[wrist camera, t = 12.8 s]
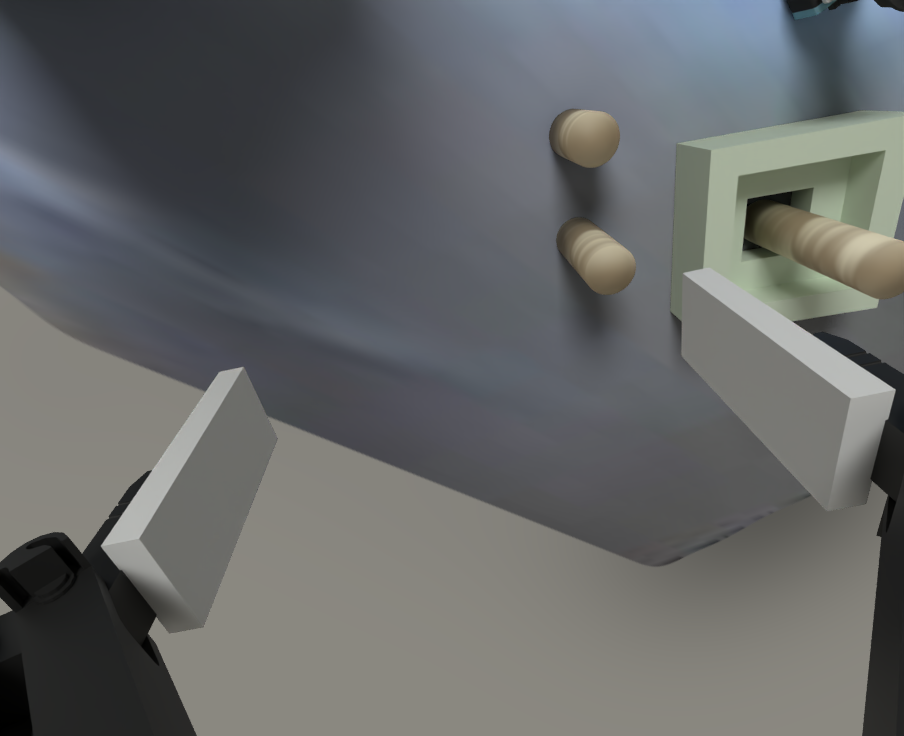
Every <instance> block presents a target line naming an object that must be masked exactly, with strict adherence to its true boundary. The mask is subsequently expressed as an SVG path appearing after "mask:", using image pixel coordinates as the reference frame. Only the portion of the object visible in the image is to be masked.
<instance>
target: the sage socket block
mask: <svg viewBox="0 0 904 736" xmlns="http://www.w3.org/2000/svg"><path fill="white" fill-rule="evenodd" d="M790 191H792V196H791V203H790V206H791V207H794V208H797V209H801V210H804V211H807V212H810V213H814V214H817V215H820V216H823V217H826V218H830V219H833V220H836V221H839V222H843V223H846V224H849V225H852V226H855V227H859V228H862V229H865V230H868V231H872V232H875V233H878V234H881V235H884V236H888V237H891V238H894V234H895V230H896V226H897V222H898V218H899V214H900V209H901V205H902V201H903V197H904V112H895V111H868V110H861V111H856V112H850V113H844V114H839V115H833V116H828V117H822V118H816V119H811V120H805V121H800V122H794V123H788V124H783V125H777V126H772V127H766V128H760V129H755V130H749V131H744V132H738V133H732V134H727V135H721V136H716V137H710V138H704V139H699V140H693V141H687V142H682V143H677V149H676V176H675V202H674V228H673V254H672V280H671V307H670V311H671V312H672V313H673V314H674V315H675V316H676V317H677V318H678V319H680V320H681V321H682V278H683V273H685V272H690V271H695V270H699V269H704V268H709V267H710V268H711V269H713V270H714V271H716V272H717V273H719V274H720V275H722V276H723V277H725V278H726V279H728V280H729V281H731V282H733V283H734V284H736V285H737V286H739V287H740V288H742V289H743V290H745V291H746V292H748V293H749V294H751V295H752V296H754V297H755V298H757V299H758V300H760V301H761V302H763V303H764V304H766V305H768V306H769V307H771V308H772V309H774V310H775V311H777V312H778V313H780V314H781V315H783V316H784V317H786V318H787V319H789V320H790V321H798V320H804V319H810V318H816V317H822V316H828V315H834V314H841V313H847V312H853V311H859V310H865V309H871V308H877V305H878V301H879V299H876V298H873V297H870V296H868V295H866V294H864V293H862V292H860V291H857V290H855V289H853V288H851V287H849V286H846V285H844V284H842V283H840V282H838V281H836V280H833V279H831V278H829V277H827V276H825V275H822V274H820V273H818V272H816V271H814V270H812V269H809V268H807V267H805V266H803V265H801V264H798V263H796V262H794V261H792V260H790V259H788V258H785V257H783V256H781V255H779V254H777V253H774V252H772V251H770V250H768V249H766V248H764V247H762V248H756V249H750V250H744V251H742V247H743V237H744V227H745V218H746V208H747V199H749V198H755V197H761V196H767V195H773V194H778V193H784V192H790Z"/></svg>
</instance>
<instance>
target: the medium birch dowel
mask: <svg viewBox="0 0 904 736" xmlns="http://www.w3.org/2000/svg"><path fill="white" fill-rule="evenodd" d="M556 242H557V247H558V249H559V251H560V252H561V253H562V255H563V256H564V257H565V258H566V259H567V260H568V262H569V263H570V264H571V265H572V266H573V268H574V269H575V270H576V271H577V272H578V274H579V275H580V276H581V277H582V278H583V280H584V281H585V282H586V283H587V284H588V285H589V287H590V288H591V289H592V290H593V291H595V292H597V293H599V294H603V295H611V294H615V293H618V292H620V291H621V290H623V289H624V288H626V287H627V286H628V285H629V283H630V282H631V281H632V279H633V277H634V274H635V270H636V263H635V259H634V257H633V255H632V254H631V253H630V252H629V251H628V250H627V249H626V248H624V247H623V246H622V245H621V244H619V243H618V242H617V241H615V240H614V239H613V238H612V237H610V236H609V235H608V234H606V233H605V232H604V231H603V230H601V229H600V228H599V227H597V226H596V225H595V224H594V223H592V222H591V221H590V220H588V219H586V218H582V217H577V218H573V219H570V220H568V221H567V222H565V223H564V224H563V225H562V226H561V228H560V229H559V231H558V234H557V238H556Z"/></svg>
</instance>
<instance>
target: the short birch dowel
mask: <svg viewBox="0 0 904 736" xmlns="http://www.w3.org/2000/svg"><path fill="white" fill-rule="evenodd" d="M549 140H550V144H551V147H552V149H553V150H554V151H555V152H556V153H557V154H558V155H559V156H561V157H564V158H566V159H568V160H570V161H572V162H574V163H576V164H578V165H581V166H583V167H587V168H594V167H598V166H601V165H603V164H605V163H606V162H607V161H609V160H610V159H611V157H612V156H613V155H614V154H615V152H616V150H617V148H618V145H619V140H620V132H619V127H618V125H617V123H616V121H615V120H614V118H613V117H612V116H610V115H609V114H607V113H605V112H601V111H591V110H581V109H569V110H566V111H564V112H562V113H561V114H559V115H558V116H557V117H556V118H555V120H554V121H553V123H552V125H551V128H550V132H549Z"/></svg>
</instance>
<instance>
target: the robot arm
mask: <svg viewBox="0 0 904 736" xmlns="http://www.w3.org/2000/svg"><path fill="white" fill-rule="evenodd" d="M681 356H682V357H683V358H684V359H685V360H686V362H687V363H688V364H689V365H690V366H691V367H692V368H693V369H694V370H695V371H696V372H697V373H698V374H699V375H700V376H701V378H702V379H703V380H704V381H705V382H706V383H707V384H708V385H709V386H710V387H711V388H712V389H713V390H714V391H715V392H716V394H717V395H718V396H719V397H720V398H721V399H722V400H723V401H724V402H725V403H726V404H727V405H728V406H729V407H730V408H731V410H732V411H733V412H734V413H735V414H736V415H737V416H738V417H739V418H740V419H741V420H742V421H743V422H744V423H745V424H746V426H747V427H748V428H749V429H750V430H751V431H752V432H753V433H754V434H755V435H756V436H757V437H758V438H759V439H760V440H761V442H762V443H763V444H764V445H765V446H766V447H767V448H768V449H769V450H770V451H771V452H772V453H773V454H774V455H775V456H776V458H777V459H778V460H779V461H780V462H781V463H782V464H783V465H784V466H785V467H786V468H787V469H788V470H789V471H790V472H791V474H792V475H793V476H794V477H795V478H796V479H797V480H798V481H799V482H800V483H801V484H802V485H803V486H804V487H805V488H806V490H807V491H808V492H809V493H810V494H811V495H812V496H813V497H814V498H815V499H816V500H817V501H818V502H819V503H820V504H821V506H823V508H824V509H825V510H826V511H832V510H837V509H842V508H847V507H853V506H859V505H864V504H866V502H867V498H868V495H869V491H870V487H871V483H872V481H873V482H874V483H875V484H877V485H878V486H879V487H880V488H881V489H882V490H883V491H884V492H885V493H886V494H888V497H887V501H886V504H885V507H884V511H883V515H882V518H881V521H880V525H879V528H878V532H877V536H880V537H881V547H880V558H879V568H878V578H877V589H876V599H875V610H874V620H873V631H872V640H871V652H870V661H869V672H868V683H867V692H866V703H865V714H864V723H863V734H862V736H904V374H902V373H901V372H899V371H898V370H896V369H894V368H893V367H891V366H889V365H888V364H886V363H881V360H880V359H878V358H876V357H875V356H873V355H872V354H870V353H868V354H867V353H866V351H865V350H863V349H862V348H860V347H859V346H857V345H855V344H854V343H852V342H850V341H849V340H847V339H843V338H840V337H837V336H834V335H831V334H828V333H825V332H820V333H815V334H810V333H809V332H807V331H806V330H804V329H803V328H801V327H799V326H798V325H796V324H795V323H793V322H792V321H790V320H789V319H787V318H786V317H784V316H783V315H781V314H780V313H778V312H777V311H775V310H774V309H772V308H771V307H769V306H768V305H766V304H764V303H763V302H761V301H760V300H758V299H757V298H755V297H754V296H752V295H751V294H749V293H748V292H746V291H745V290H743V289H742V288H740V287H739V286H737V285H736V284H734V283H733V282H731V281H729V280H728V279H726V278H725V277H723V276H722V275H720V274H719V273H717V272H716V271H714V270H713V269H711V268H710V267H709V268H704V269H699V270H695V271H690V272H685V273H683V278H682V345H681ZM277 439H278V438H277V436H276V434H275V432H274V430H273V428H272V426H271V423H270V421H269V420H268V417H267V415H266V413H265V411H264V409H263V406H262V404H261V402H260V400H259V398H258V396H257V394H256V392H255V390H254V387H253V385H252V383H251V381H250V379H249V377H248V375H247V373H246V370H245V368H244V367H240V368H236V369H231V370H226V371H222V372H219V373H218V375H217V376H216V378H215V379H214V381H213V382H212V384H211V385H210V386H209V388H208V389H207V391H206V392H205V394H204V396H203V397H202V398H201V400H200V401H199V403H198V404H197V406H196V407H195V409H194V410H193V411H192V413H191V414H190V416H189V417H188V419H187V420H186V422H185V423H184V425H183V426H182V428H181V429H180V431H179V432H178V434H177V435H176V437H175V438H174V439H173V441H172V442H171V444H170V445H169V447H168V448H167V450H166V451H165V453H164V454H163V456H162V457H161V459H160V460H159V461H158V463H157V464H156V466H155V467H154V469H153V470H151V471H147V472H146V473H145V474H144V475H143V476H141V477H140V478H139V479H138V480H137V481H136V482H135V483H133V484H132V485H131V486H130V487H129V489H128V490H127V491H126V493H125V494H124V496H123V497H122V498H121V500H120V501H119V503H118V504H119V505H118V506H116V507H115V508H114V510H113V511H112V512H111V514H110V515H109V519H107V520H106V521H105V522H104V524H103V525H102V527H101V528H100V529H99V531H98V532H97V534H96V535H95V537H94V538H93V539H92V541H91V542H90V544H89V545H88V546H87V548H86V549H85V550H84V552H83V554H81V552H80V551H79V550H78V548H77V547H76V546H75V545H74V544H73V542H72V541H71V540H70V539H69V537H68V536H67V535H65V534H64V533H59V532H53V533H50V534H46V535H42V536H39V537H37V538H35V539H33V540H31V541H29V542H27V543H25V544H24V545H22V546H20V547H19V548H17V549H16V550H14V551H13V552H12V553H10V554H9V555H8V556H7V557H6V558H5V559H3V560H2V561H1V562H0V598H1V599H2V600H3V601H4V602H5V603H6V604H7V605H8V606H9V607H10V608H11V609H12V610H13V611H10V612H8V613H6V614H3V615H1V616H0V736H197V735H196V733H195V731H194V728H193V726H192V724H191V722H190V720H189V717H188V715H187V713H186V710H185V708H184V706H183V704H182V702H181V699H180V697H179V695H178V692H177V690H176V688H175V686H174V683H173V681H172V679H171V677H170V674H169V672H168V670H167V668H166V665H165V663H164V661H163V659H162V656H161V654H160V652H159V650H158V647H157V645H156V643H155V642H154V641H153V640H152V638H151V637H150V636H149V635H148V632H149V630H150V628H151V626H152V624H153V622H154V620H155V618H156V617H157V618H158V620H159V621H160V622H161V623H162V625H163V626H164V627H165V628H166V630H167V631H168V632H169V633H175V632H180V631H186V630H191V629H196V628H202V627H204V624H205V622H206V619H207V617H208V614H209V612H210V609H211V607H212V604H213V602H214V599H215V596H216V594H217V591H218V589H219V586H220V584H221V581H222V579H223V576H224V574H225V571H226V569H227V566H228V563H229V561H230V558H231V556H232V553H233V551H234V548H235V545H236V543H237V540H238V538H239V536H240V533H241V530H242V528H243V525H244V523H245V520H246V518H247V515H248V513H249V510H250V508H251V505H252V503H253V500H254V497H255V495H256V492H257V490H258V487H259V485H260V482H261V480H262V477H263V475H264V472H265V470H266V467H267V464H268V462H269V459H270V457H271V454H272V452H273V449H274V447H275V444H276V442H277Z"/></svg>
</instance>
